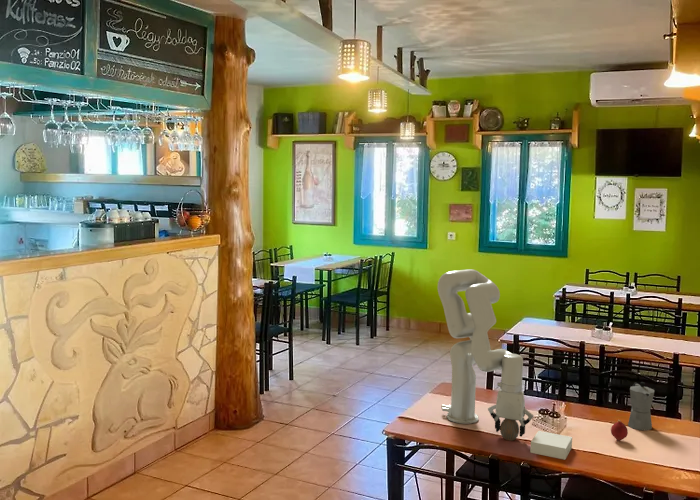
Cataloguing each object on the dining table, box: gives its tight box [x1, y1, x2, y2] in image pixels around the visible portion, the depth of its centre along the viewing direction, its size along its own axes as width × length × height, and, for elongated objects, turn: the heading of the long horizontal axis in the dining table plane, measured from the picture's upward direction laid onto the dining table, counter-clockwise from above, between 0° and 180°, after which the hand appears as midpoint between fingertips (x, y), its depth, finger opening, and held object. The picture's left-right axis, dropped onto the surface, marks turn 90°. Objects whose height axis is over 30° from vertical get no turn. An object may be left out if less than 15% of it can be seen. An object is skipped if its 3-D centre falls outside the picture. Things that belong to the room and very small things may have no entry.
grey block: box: [529, 430, 573, 460], centre depth 239 cm, size 12×12×4 cm
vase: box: [499, 418, 520, 442], centre depth 249 cm, size 7×7×9 cm
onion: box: [610, 419, 629, 442], centre depth 248 cm, size 6×6×8 cm
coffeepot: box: [627, 381, 655, 432], centre depth 264 cm, size 15×9×18 cm, turn 176°
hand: (509, 432), depth 249 cm, fingers open, 8 cm apart
